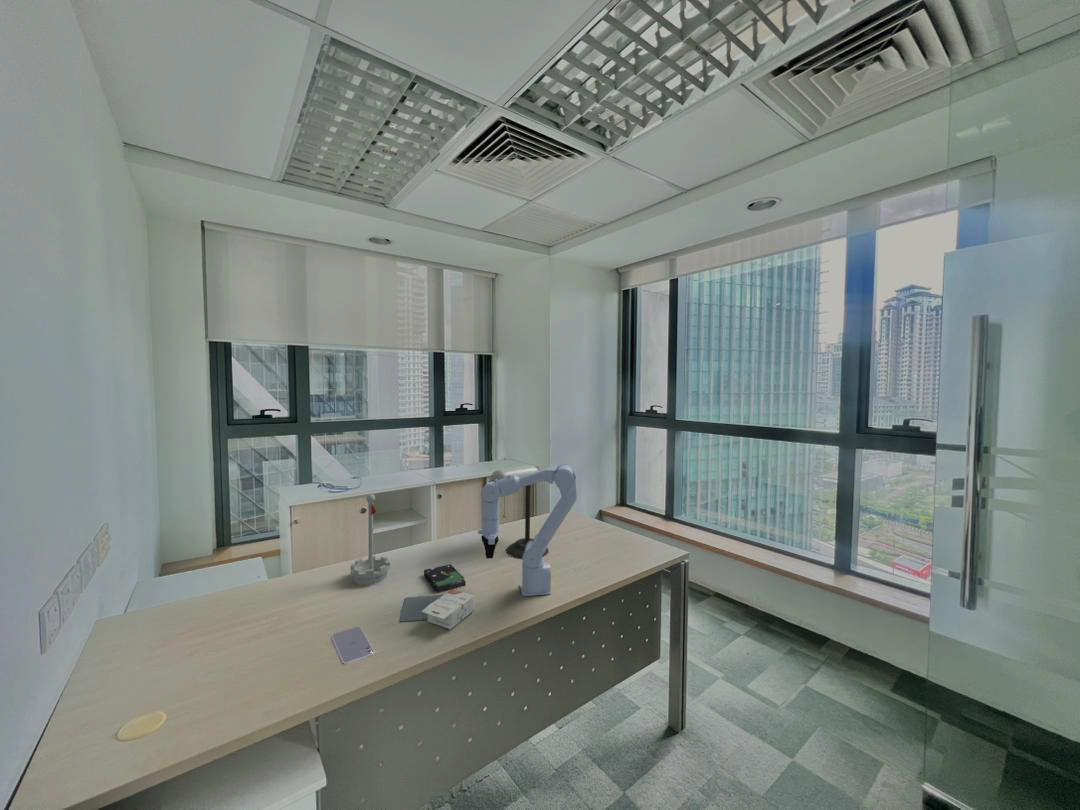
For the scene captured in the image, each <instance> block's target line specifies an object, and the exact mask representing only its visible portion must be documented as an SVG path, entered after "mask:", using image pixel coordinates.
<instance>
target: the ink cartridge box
mask: <svg viewBox="0 0 1080 810" xmlns="http://www.w3.org/2000/svg"><path fill="white" fill-rule="evenodd" d="M442 595H443V596H442V597H440V598H439V599H437V600H436V601H434V602H433V603H431V604H430V605H428V606H427V607H426V608H425V609H424V610H422V612H423V613H426V614H428V620H427V622H428V623H431V624H434V625H437V626H440V627H442V628H446V629H448V630H452V629H453V628H454V627H455V626H456V625H457V626H458V624H459V623H461V622H462V621H463V620H464V619H465V618H467V616H469V615H470V614H471V613H472V612H474V611H475V595H474V594H471V593H467V592H463V591H460V590H457V589H450V590H448V592H446V593H445V594H442Z"/></svg>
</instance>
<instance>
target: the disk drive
mask: <svg viewBox="0 0 1080 810" xmlns="http://www.w3.org/2000/svg"><path fill="white" fill-rule="evenodd" d="M424 576H425V577H424ZM423 577H424V578H425V579H426V580H427V582H428V583H429V584H430V586H431V588H433V590H434V591H435V593H437V594H438V593H441V592H446V591H450V590H452V589H453V590H455V589H458V587H459V588H462V587H461V586H463V587H465V586H466V584H467V583H466V580H465V578H464V576H463V575H461V573H460V572H459V571H458V570H457V569H456V568H455V567H454V566H453V565H452V564H451V563H450V564H446V565H441V566H435V568H433V569H431V568H427V569H424V570H423ZM454 588H455V589H454Z"/></svg>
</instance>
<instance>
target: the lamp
mask: <svg viewBox="0 0 1080 810" xmlns="http://www.w3.org/2000/svg"><path fill="white" fill-rule="evenodd" d="M537 471H539V469H538V468H537V467H536V466H535V465H531V464H526V465H520V466H513V467H506V468H500V469H496V470H494V471H493V472H492V473H491V475H490V477H489V480H488V482H492V481H493V482H494V480H496V479H497V480H501V479H504V478H507V476H508V475H510V474H511V475H512V476H513V475H516V476H518V477H523V476H526V475H528V474H531V473H534V472H537ZM535 484H537V483H535ZM535 484H534V485H535ZM503 500H504V501H503V516H502V518H506V509H505V508H506V507H505V506H506V504H505V503H506V496H504V499H503ZM524 514H525V515H524V516H525V517H524V518H525V519H524V520H525V521H524V522H525V523H524V527H525V528H524V531H525V532H524V538H519V539H517V540H516V541H514V542H513V543H510V544H509V546H506V548H507V549H506V548H505V552H506V551H507V553H508V554H509V555H508V554H507V553H506V554H507V555H508V556H510V555H511V556H510V557H512V556H513V557H512V558H514V557H517V558H516V559H519V558H522V557H523V554H524V552H525V548H526V545H527V543H528V542H529V541H531V540H533V539H534V538H532V537H530V536H531V535H530V534H531V531H530V530H531V485H527V486H525V513H524ZM548 551H549V547H548V546H547V547H546V550H545V552H544V553H543V555H542V558H543V557H546V556H547V555H548V554H549V552H548ZM547 553H548V554H547Z"/></svg>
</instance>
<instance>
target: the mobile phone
mask: <svg viewBox="0 0 1080 810" xmlns="http://www.w3.org/2000/svg"><path fill="white" fill-rule="evenodd" d="M331 639H332V642H333V644H334V647H335V649H336V650H337V653H339V654H338V656H339V658H341V659H340V661H341V660H342V661H343V663H349V662H352V661H355V660H358V661H360V660H359V659H361V660H363V659H362V658H364V659H366V658H365V657H367V658H369V657H368V656H370V655H372V654H373V655H374V654H375V650H374V649H373V647H372V645H371V643H370V641H369V640H368V638H367V636H366V634H365V633H364V631H363V629H362V628H361V627H360V626H355V627H352V628H350V629H349V628H348V629H346V630H342V631H339V632H336V633H334V634H332V636H331ZM373 655H372V656H373ZM370 657H371V656H370ZM342 661H341V662H342ZM355 662H356V661H355ZM343 663H342V664H343Z"/></svg>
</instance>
